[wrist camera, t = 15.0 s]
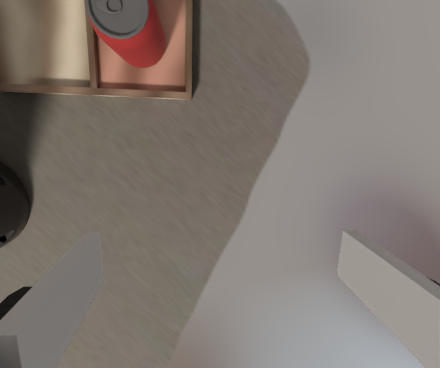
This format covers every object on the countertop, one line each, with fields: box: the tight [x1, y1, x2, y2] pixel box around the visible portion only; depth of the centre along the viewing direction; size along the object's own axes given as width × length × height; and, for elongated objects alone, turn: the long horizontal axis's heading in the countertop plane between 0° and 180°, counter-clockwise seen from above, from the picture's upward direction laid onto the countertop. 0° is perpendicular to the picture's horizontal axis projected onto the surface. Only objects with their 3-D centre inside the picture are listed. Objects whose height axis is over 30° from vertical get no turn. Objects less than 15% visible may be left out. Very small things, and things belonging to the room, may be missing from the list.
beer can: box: [86, 0, 166, 68], centre depth 30 cm, size 7×7×12 cm
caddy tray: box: [0, 0, 193, 100], centre depth 35 cm, size 26×14×3 cm, turn 88°
